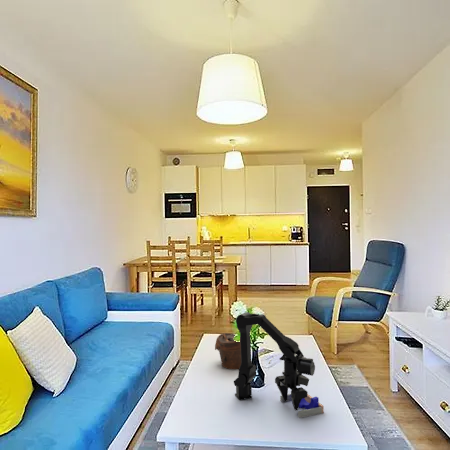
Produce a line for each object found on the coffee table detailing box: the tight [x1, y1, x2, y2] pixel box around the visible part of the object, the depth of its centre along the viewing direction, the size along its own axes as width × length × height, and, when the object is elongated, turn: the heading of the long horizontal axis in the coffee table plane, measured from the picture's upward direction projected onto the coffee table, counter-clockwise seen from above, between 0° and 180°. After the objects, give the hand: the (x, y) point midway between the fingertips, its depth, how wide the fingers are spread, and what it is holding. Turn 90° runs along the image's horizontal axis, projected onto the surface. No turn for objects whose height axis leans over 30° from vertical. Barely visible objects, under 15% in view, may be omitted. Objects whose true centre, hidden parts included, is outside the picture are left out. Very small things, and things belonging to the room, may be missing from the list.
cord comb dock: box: [279, 393, 325, 419], centre depth 180 cm, size 12×17×3 cm
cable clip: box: [291, 396, 320, 410], centre depth 180 cm, size 12×4×6 cm, turn 33°
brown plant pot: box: [214, 332, 241, 370], centre depth 232 cm, size 18×20×18 cm
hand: (290, 405), depth 179 cm, fingers open, 9 cm apart
